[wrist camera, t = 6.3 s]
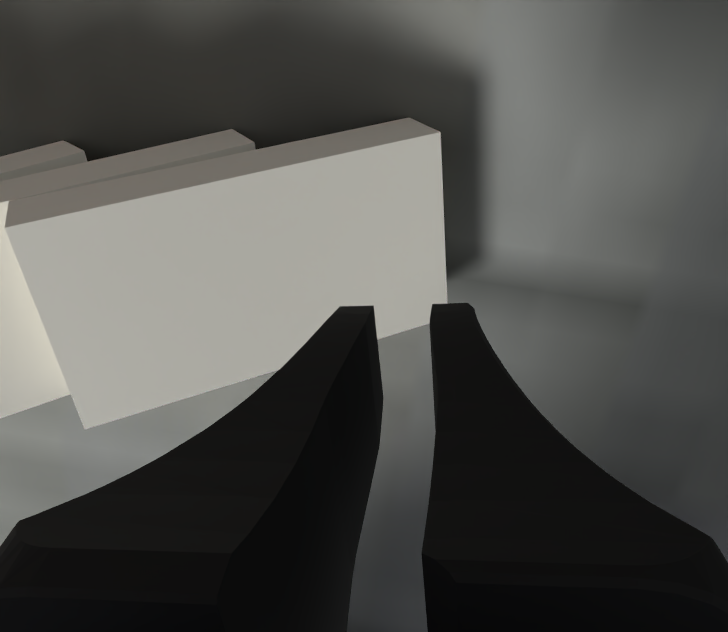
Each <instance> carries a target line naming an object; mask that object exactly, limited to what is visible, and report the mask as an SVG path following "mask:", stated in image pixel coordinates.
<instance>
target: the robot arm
mask: <svg viewBox="0 0 728 632" xmlns="http://www.w3.org/2000/svg"><path fill="white" fill-rule="evenodd" d="M430 338H431V356H432V374H433V392H434V410H435V428H436V435H435V446H434V458H433V469H432V478H431V488H430V497H429V505H428V513H427V520H426V527H425V535H424V541H423V548H422V564H423V576H424V589H425V602H426V614H427V627H428V632H728V562H727V561H726V559H725V557H724V556H723V554H722V553H721V551H720V549H719V548H718V546H717V545H716V543H715V542H714V540H713V539H712V538H711V537H710V536H708V535H706V534H704V533H703V532H701V531H699V530H697V529H696V528H694V527H692V526H690V525H689V524H687V523H685V522H683V521H682V520H680V519H678V518H676V517H675V516H673V515H671V514H669V513H668V512H666V511H664V510H662V509H661V508H659V507H657V506H655V505H654V504H652V503H650V502H649V501H647V500H645V499H644V498H642V497H641V496H639V495H638V494H636V493H635V492H633V491H632V490H631V489H629V488H628V487H626V486H625V485H623V484H622V483H620V482H619V481H617V480H616V479H614V478H613V477H612V476H610V475H609V474H608V473H606V472H605V471H604V470H603V469H601V468H600V467H599V466H598V465H596V464H595V463H594V462H593V461H591V460H590V459H589V458H588V457H586V456H585V455H584V454H583V453H581V452H580V451H579V450H578V449H576V448H575V447H574V446H573V445H572V444H571V443H570V442H569V441H568V440H567V439H566V438H565V437H564V436H563V435H562V434H560V433H559V432H558V431H557V430H556V429H555V428H554V427H553V426H552V424H551V423H550V422H549V421H548V420H547V419H546V418H545V417H544V416H543V415H542V414H541V413H540V412H539V411H538V410H537V408H536V407H535V406H534V405H533V404H532V403H531V401H530V400H529V399H528V398H527V397H526V395H525V394H524V393H523V392H522V390H521V389H520V388H519V387H518V385H517V384H516V383H515V381H514V380H513V379H512V377H511V376H510V375H509V373H508V372H507V370H506V369H505V367H504V366H503V364H502V363H501V361H500V360H499V358H498V357H497V355H496V354H495V352H494V350H493V349H492V347H491V345H490V344H489V342H488V340H487V338H486V336H485V334H484V333H483V331H482V329H481V326H480V324H479V322H478V320H477V317H476V314H475V310H474V308H473V307H472V306H471V305H469V304H468V303H450V304H432V308H431V314H430ZM382 409H383V390H382V381H381V371H380V362H379V352H378V342H377V333H376V323H375V313H374V305H373V306H340V307H339V308H338V309H337V310H336V311H335V312H334V313H333V314H332V315H331V316H330V317H329V318H328V319H327V320H326V321H325V322H324V323H323V325H322V326H321V327H320V328H319V329H318V330H317V331H316V332H315V333H314V334H313V336H312V337H311V338H310V339H309V340H308V341H307V342H306V343H305V344H304V345H303V346H302V347H301V348H300V349H299V350H298V351H297V352H296V353H295V354H294V355H293V357H292V358H291V359H290V360H289V361H288V362H287V363H286V364H285V365H284V366H283V367H282V368H281V369H280V370H278V371H277V372H276V373H275V374H274V375H273V376H272V377H271V378H270V379H269V380H267V381H266V382H265V383H264V384H263V385H262V386H261V387H260V388H259V389H258V390H256V391H255V392H254V393H253V394H252V395H251V396H249V397H248V398H247V399H246V400H245V401H243V402H242V403H241V404H239V405H238V406H237V407H236V408H234V409H233V410H232V411H230V412H229V413H228V414H226V415H225V416H223V417H222V418H221V419H219V420H218V421H217V422H215V423H214V424H212V425H211V426H210V427H208V428H207V429H205V430H204V431H202V432H200V433H199V434H197V435H196V436H194V437H192V438H191V439H189V440H187V441H186V442H184V443H183V444H181V445H179V446H178V447H176V448H174V449H173V450H171V451H170V452H168V453H166V454H165V455H163V456H161V457H160V458H158V459H156V460H154V461H152V462H151V463H149V464H147V465H145V466H143V467H141V468H139V469H137V470H135V471H134V472H132V473H130V474H128V475H126V476H123V477H121V478H119V479H117V480H115V481H113V482H111V483H109V484H107V485H105V486H103V487H101V488H98V489H96V490H94V491H92V492H90V493H87V494H85V495H83V496H80V497H78V498H75V499H73V500H70V501H68V502H65V503H63V504H61V505H58V506H56V507H53V508H51V509H48V510H46V511H43V512H41V513H39V514H36V515H34V516H31V517H28V518H25V519H23V520H20V521H19V522H18V523H17V524H16V526H15V527H14V528H13V530H12V531H11V532H10V534H9V535H8V536H7V538H6V539H5V541H4V542H3V543H2V545H1V546H0V632H346V630H347V621H348V612H349V603H350V594H351V584H352V576H353V570H354V564H355V558H356V552H357V547H358V543H359V538H360V534H361V529H362V524H363V520H364V515H365V511H366V506H367V502H368V497H369V492H370V488H371V483H372V479H373V474H374V469H375V464H376V460H377V455H378V450H379V444H380V433H381V422H382Z"/></svg>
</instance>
